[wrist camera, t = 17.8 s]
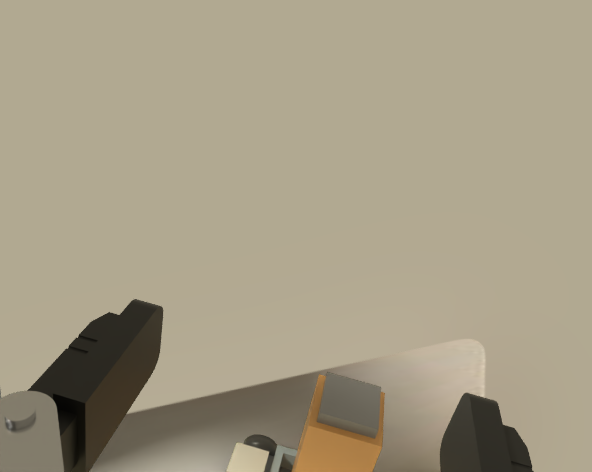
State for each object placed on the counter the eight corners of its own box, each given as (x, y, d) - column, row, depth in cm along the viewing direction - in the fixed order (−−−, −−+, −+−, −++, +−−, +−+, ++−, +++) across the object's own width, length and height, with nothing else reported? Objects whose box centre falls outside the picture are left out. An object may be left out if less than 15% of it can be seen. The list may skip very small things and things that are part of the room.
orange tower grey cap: (338, 555, 35) (385, 437, 30) (276, 536, 36) (310, 416, 30) (345, 498, 39) (387, 384, 34) (288, 481, 40) (321, 365, 34)
